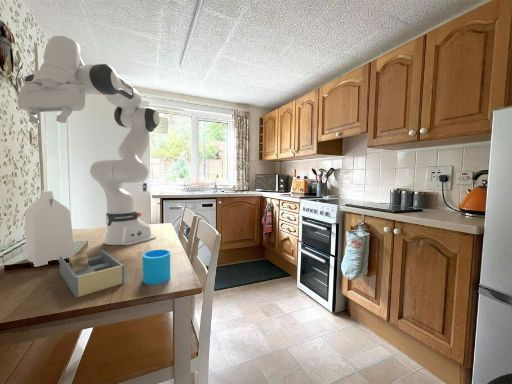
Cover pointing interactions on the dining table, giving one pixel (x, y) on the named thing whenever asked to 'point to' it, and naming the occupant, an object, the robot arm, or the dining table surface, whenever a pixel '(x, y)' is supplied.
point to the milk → (47, 230)
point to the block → (78, 262)
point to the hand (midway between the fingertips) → (47, 122)
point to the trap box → (93, 274)
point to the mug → (156, 266)
